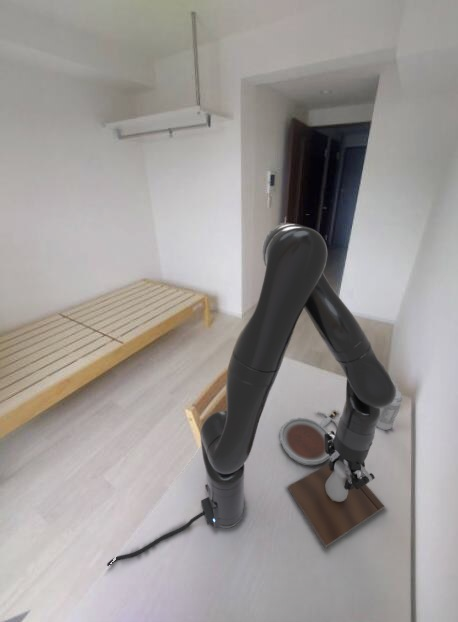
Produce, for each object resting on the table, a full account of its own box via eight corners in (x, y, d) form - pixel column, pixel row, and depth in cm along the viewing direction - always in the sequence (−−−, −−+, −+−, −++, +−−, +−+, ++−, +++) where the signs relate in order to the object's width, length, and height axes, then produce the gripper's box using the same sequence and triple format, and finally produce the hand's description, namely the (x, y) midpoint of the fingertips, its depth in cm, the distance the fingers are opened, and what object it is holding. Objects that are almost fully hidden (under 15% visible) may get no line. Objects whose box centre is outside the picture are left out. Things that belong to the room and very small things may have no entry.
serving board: (325, 548, 65) (326, 545, 64) (288, 488, 77) (288, 485, 76) (383, 509, 72) (384, 505, 71) (341, 460, 84) (342, 456, 83)
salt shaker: (341, 482, 77) (350, 454, 70) (349, 505, 72) (361, 477, 65) (320, 483, 77) (328, 455, 70) (328, 506, 72) (337, 477, 65)
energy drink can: (388, 418, 98) (400, 388, 90) (393, 433, 92) (406, 401, 85) (370, 415, 99) (381, 385, 92) (374, 429, 94) (385, 398, 87)
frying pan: (360, 422, 94) (313, 473, 78) (358, 428, 95) (311, 479, 79) (318, 394, 105) (269, 434, 89) (316, 400, 106) (268, 440, 91)
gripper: (319, 417, 66) (310, 459, 74) (368, 469, 55) (351, 513, 63) (342, 407, 69) (331, 449, 77) (393, 454, 58) (373, 498, 66)
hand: (340, 477), depth 70 cm, fingers open, 4 cm apart
